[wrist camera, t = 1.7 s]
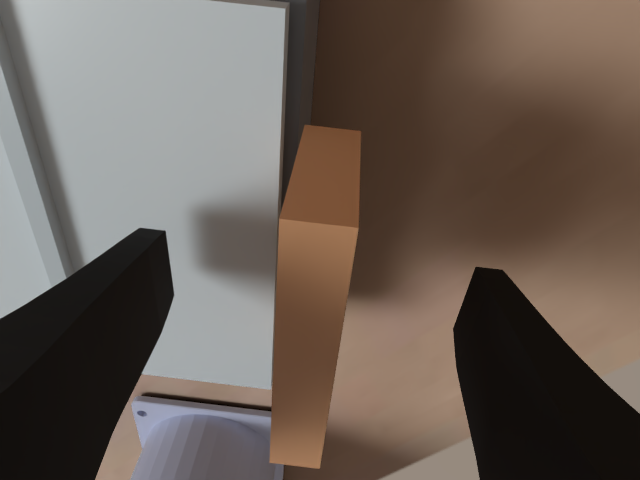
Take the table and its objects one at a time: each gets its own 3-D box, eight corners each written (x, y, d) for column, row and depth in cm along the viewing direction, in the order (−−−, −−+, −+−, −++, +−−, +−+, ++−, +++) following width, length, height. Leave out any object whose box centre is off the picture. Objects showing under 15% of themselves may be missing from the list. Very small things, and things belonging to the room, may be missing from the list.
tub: (297, 295, 20) (283, 374, 16) (-131, 244, 20) (-227, 312, 17) (323, -40, 13) (307, -16, 9) (-344, -111, 13) (-583, -112, 10)
